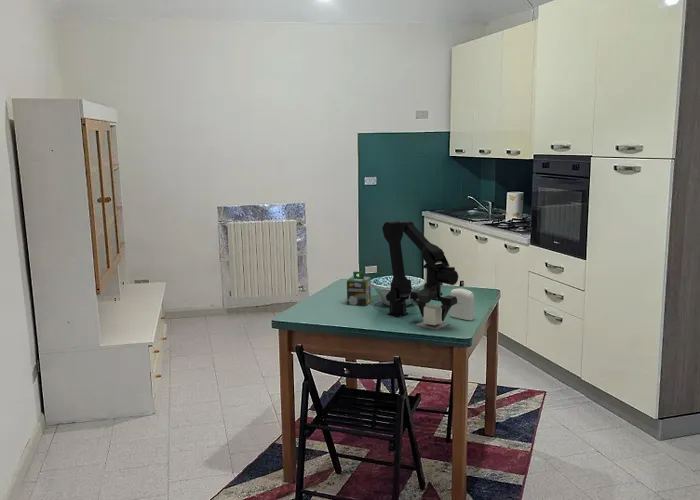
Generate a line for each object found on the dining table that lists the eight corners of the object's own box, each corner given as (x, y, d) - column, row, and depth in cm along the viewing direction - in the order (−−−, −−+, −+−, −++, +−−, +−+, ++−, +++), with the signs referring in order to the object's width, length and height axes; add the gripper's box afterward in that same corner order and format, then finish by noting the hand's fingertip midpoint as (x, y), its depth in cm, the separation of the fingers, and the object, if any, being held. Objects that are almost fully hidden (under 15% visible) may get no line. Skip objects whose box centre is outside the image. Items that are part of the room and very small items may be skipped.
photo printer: (448, 316, 265) (449, 287, 263) (454, 314, 268) (454, 286, 266) (469, 321, 258) (470, 292, 256) (475, 319, 261) (476, 290, 259)
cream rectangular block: (423, 323, 253) (423, 306, 252) (430, 320, 257) (430, 304, 256) (434, 325, 250) (435, 309, 249) (441, 322, 254) (442, 306, 253)
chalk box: (371, 301, 290) (371, 269, 288) (366, 306, 282) (366, 273, 279) (351, 300, 293) (351, 268, 290) (346, 305, 284) (346, 272, 281)
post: (415, 325, 253) (415, 308, 252) (428, 320, 261) (429, 303, 259) (436, 330, 247) (437, 313, 245) (450, 324, 254) (450, 307, 253)
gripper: (402, 280, 250) (402, 319, 253) (443, 287, 238) (442, 327, 241) (418, 275, 259) (417, 313, 261) (458, 282, 247) (457, 321, 250)
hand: (432, 318), depth 253 cm, fingers open, 9 cm apart
